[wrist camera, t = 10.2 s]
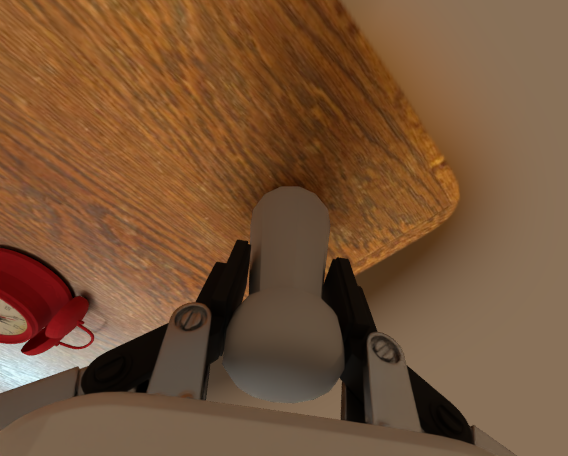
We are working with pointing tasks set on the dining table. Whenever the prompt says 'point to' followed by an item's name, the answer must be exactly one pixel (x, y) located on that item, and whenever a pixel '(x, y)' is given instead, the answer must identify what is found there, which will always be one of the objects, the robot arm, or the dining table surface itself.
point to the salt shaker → (286, 304)
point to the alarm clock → (36, 305)
